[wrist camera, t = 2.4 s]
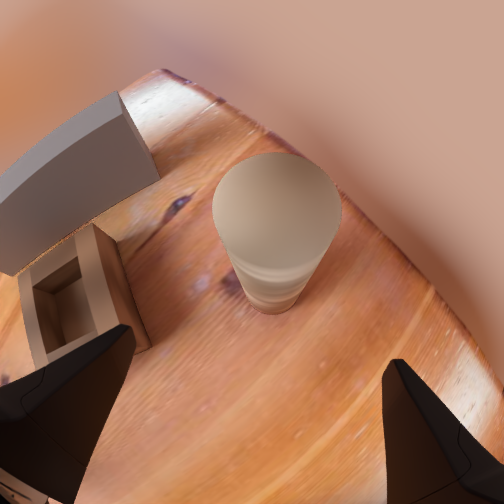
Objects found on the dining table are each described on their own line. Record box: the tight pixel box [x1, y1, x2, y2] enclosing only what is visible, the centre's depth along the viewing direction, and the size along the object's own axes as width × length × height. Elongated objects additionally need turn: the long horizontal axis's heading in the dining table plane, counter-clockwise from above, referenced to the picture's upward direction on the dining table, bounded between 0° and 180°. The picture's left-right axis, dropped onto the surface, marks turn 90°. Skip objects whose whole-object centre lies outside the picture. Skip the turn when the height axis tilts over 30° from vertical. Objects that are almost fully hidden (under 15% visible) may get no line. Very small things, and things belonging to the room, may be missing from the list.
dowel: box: [212, 152, 342, 315], centre depth 14 cm, size 4×4×13 cm
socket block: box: [18, 223, 152, 370], centre depth 18 cm, size 10×10×4 cm
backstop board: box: [0, 91, 161, 276], centre depth 20 cm, size 4×22×9 cm, turn 117°
